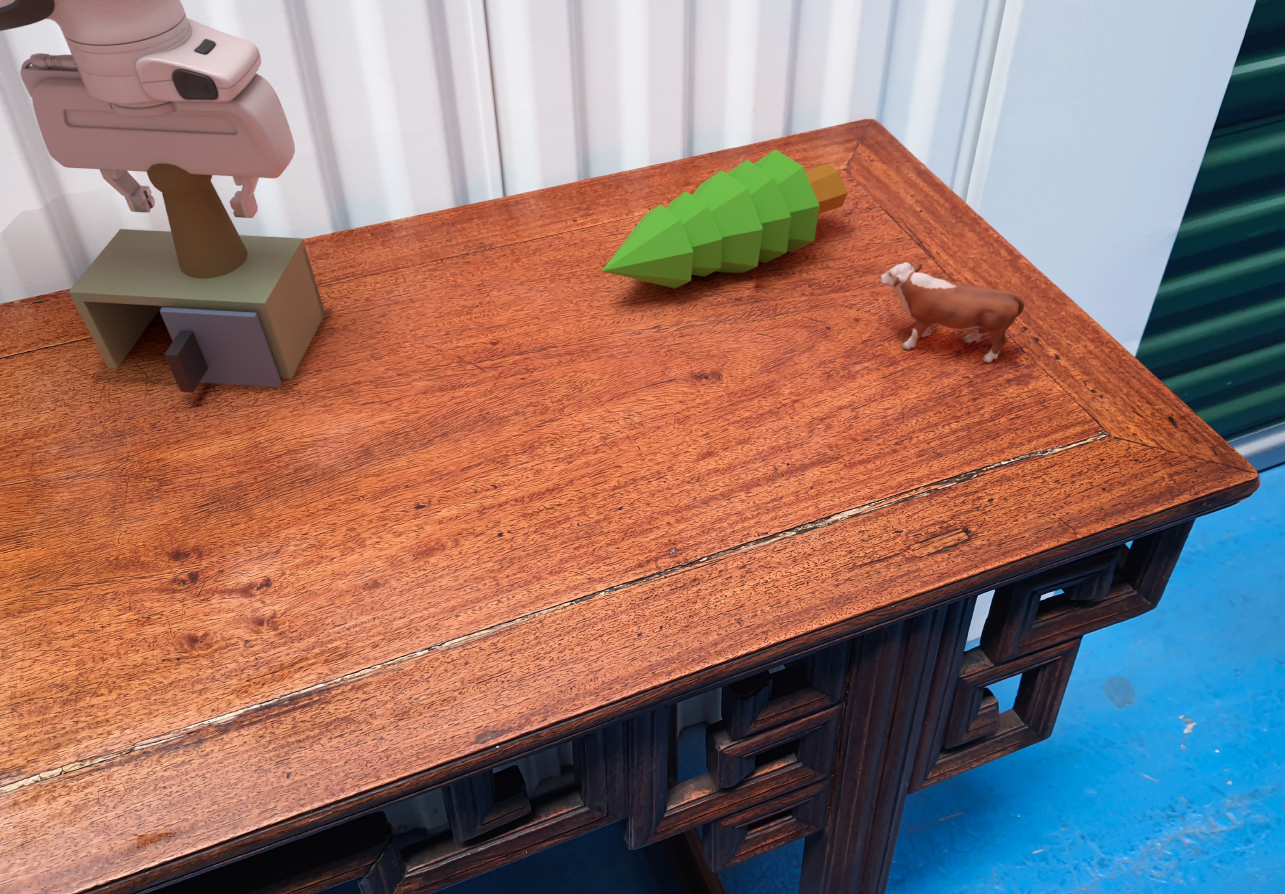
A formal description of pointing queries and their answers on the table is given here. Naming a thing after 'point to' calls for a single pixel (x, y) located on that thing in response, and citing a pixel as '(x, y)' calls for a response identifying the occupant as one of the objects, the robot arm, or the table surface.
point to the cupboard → (199, 293)
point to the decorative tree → (730, 222)
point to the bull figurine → (953, 306)
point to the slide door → (218, 349)
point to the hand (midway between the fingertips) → (195, 211)
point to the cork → (198, 223)
